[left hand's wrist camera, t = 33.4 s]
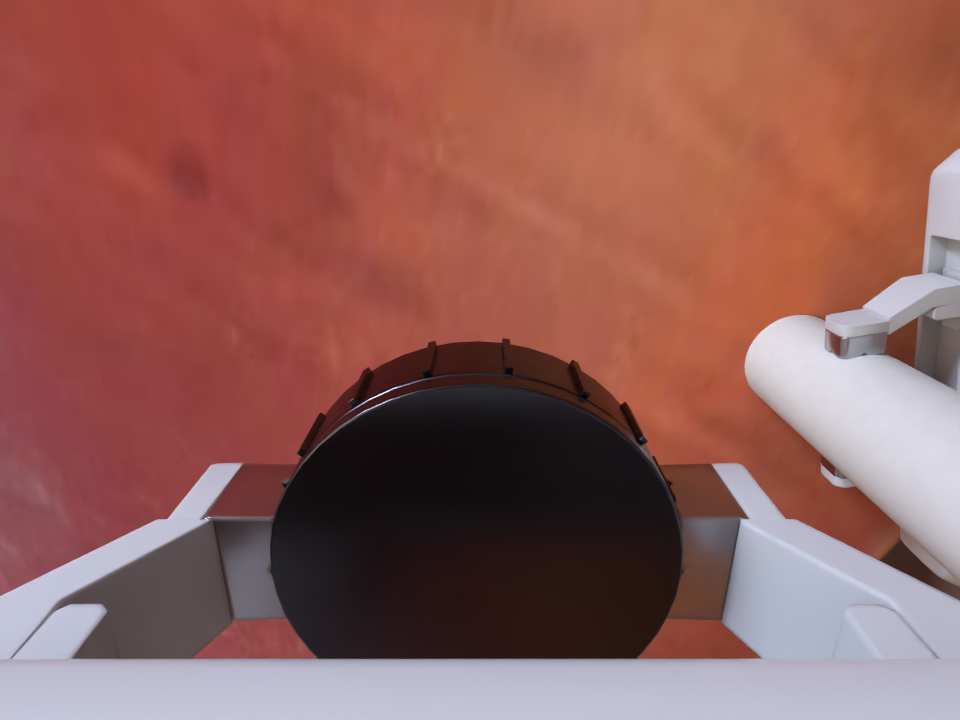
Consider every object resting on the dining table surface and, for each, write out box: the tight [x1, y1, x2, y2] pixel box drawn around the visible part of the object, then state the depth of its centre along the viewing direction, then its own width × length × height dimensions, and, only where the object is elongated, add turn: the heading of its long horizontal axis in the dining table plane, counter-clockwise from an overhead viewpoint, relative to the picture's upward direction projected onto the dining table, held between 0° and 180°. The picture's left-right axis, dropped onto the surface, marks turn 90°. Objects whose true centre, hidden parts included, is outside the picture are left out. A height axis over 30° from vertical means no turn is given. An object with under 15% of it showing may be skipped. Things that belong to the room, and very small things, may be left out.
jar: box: [745, 315, 960, 582], centre depth 24 cm, size 5×5×17 cm
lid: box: [270, 339, 684, 659], centre depth 9 cm, size 6×6×2 cm
